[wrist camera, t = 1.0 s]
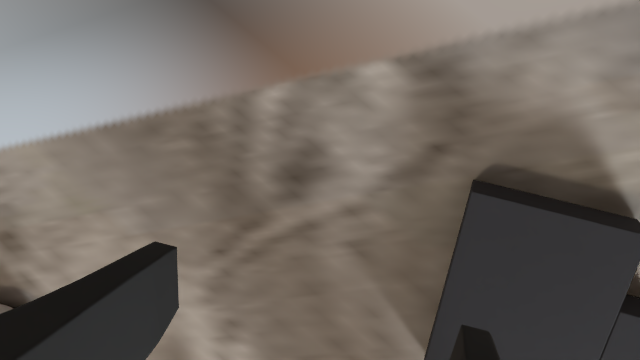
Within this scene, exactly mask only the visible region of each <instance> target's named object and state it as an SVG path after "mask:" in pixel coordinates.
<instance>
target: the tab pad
mask: <svg viewBox="0 0 640 360" xmlns="http://www.w3.org/2000/svg"><path fill="white" fill-rule="evenodd" d="M639 262H640V222H639V221H638V220H637V219H633V218H629V217H625V216H621V215H617V214H613V213H609V212H604V211H600V210H596V209H592V208H588V207H584V206H580V205H576V204H572V203H568V202H563V201H559V200H555V199H551V198H547V197H543V196H539V195H535V194H531V193H527V192H522V191H518V190H514V189H510V188H506V187H502V186H498V185H494V184H490V183H486V182H481V181H477V180H473V183H472V186H471V190H470V193H469V197H468V201H467V204H466V208H465V212H464V215H463V219H462V223H461V226H460V230H459V234H458V237H457V241H456V245H455V248H454V252H453V255H452V259H451V263H450V266H449V270H448V274H447V277H446V281H445V285H444V288H443V292H442V296H441V299H440V303H439V306H438V310H437V314H436V317H435V321H434V325H433V328H432V332H431V336H430V339H429V343H428V347H427V350H426V354H425V358H424V360H450V357H451V354H452V351H453V348H454V345H455V342H456V339H457V336H458V333H459V330H460V327H461V324H463V325H467V326H471V327H474V328H478V329H482V330H485V331H489V332H490V334H491V336H492V337H493V340H494V343H495V346H496V349H497V352H498V354H499V357H500V359H501V360H640V298H637V297H633V296H629V295H626V293H627V291H628V289H629V286H630V284H631V281H632V279H633V276H634V274H635V272H636V269H637V267H638V264H639Z"/></svg>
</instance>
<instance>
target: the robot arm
mask: <svg viewBox="0 0 640 360" xmlns="http://www.w3.org/2000/svg"><path fill="white" fill-rule="evenodd" d="M178 308H179V301H178V272H177V247H174V246H170V245H167V244H163V243H159V242H153V243H151V244H149V245H147V246H145V247H143V248H141V249H139V250H137V251H135V252H133V253H131V254H129V255H127V256H125V257H123V258H121V259H119V260H117V261H115V262H113V263H111V264H109V265H107V266H105V267H103V268H101V269H99V270H97V271H95V272H93V273H91V274H89V275H87V276H85V277H83V278H81V279H79V280H77V281H75V282H73V283H71V284H69V285H67V286H64V287H62V288H60V289H58V290H56V291H53V292H51V293H49V294H47V295H45V296H42V297H40V298H38V299H36V300H34V301H31V302H29V303H26V304H24V305H21V306H19V307H16V308H14V309H11V310H9V311H6V312H4V313H1V314H0V360H146V358H147V357H148V356H149V354H150V353H151V352H152V350H153V349H154V348H155V346H156V345H157V344H158V342H159V341H160V339H161V337H162V336H163V334H164V332H165V331H166V329H167V327H168V326H169V324H170V322H171V320H172V318H173V317H174V315H175V313H176V311H177V310H178ZM450 360H501V359H500V357H499V354H498V352H497V349H496V346H495V343H494V340H493V337H492V336H491V334H490V332H489V331H485V330H482V329H478V328H474V327H471V326H467V325H463V324H461V327H460V330H459V333H458V336H457V339H456V342H455V345H454V348H453V351H452V354H451V357H450Z"/></svg>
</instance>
